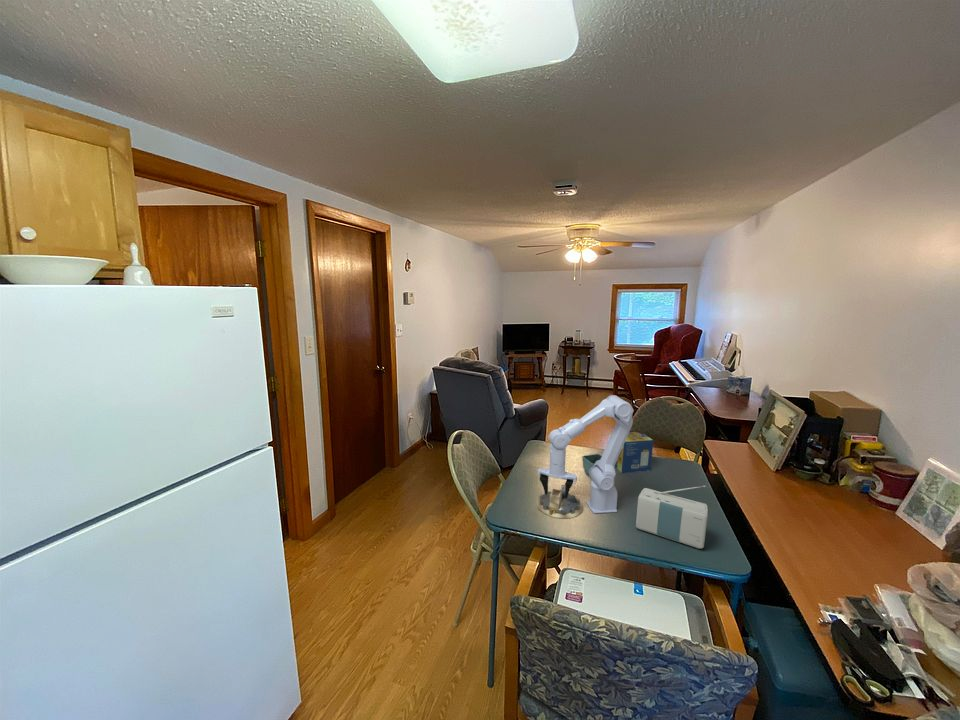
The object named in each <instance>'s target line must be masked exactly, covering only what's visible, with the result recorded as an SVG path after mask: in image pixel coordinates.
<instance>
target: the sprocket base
mask: <svg viewBox="0 0 960 720" xmlns="http://www.w3.org/2000/svg"><path fill="white" fill-rule="evenodd" d="M544 494H545V493H543V494H542V495H544ZM540 496H541V495H539V496H538V497H537V498H536V500H535V501H536V502H535V503H536V504H535V505H536V508H537V509H538V510H539V512H540V513H543V514H544V515H545V516H548V517H551V518H555V519H559V520H569V519H573V518H577V517H579V516H581V514H583V512H584V504H583V503H582V501H581V500H580V499H579V501H580V509H579V510H575V513H574V514H571V513H567V514H566V515H562V514H559V513H555V514H553V513H552V509H550V510H544V509H543V505H540ZM575 498H576V499H578V498H577V497H576V496H575Z"/></svg>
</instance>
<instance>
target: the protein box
mask: <svg viewBox="0 0 960 720" xmlns="http://www.w3.org/2000/svg"><path fill="white" fill-rule="evenodd" d="M653 447H654V439H652V438H651V437H649V436H648V435H646V434H645V433H643V432H641V431H634V432H633V431H632V432H630V431H629V434H628V436H627V438H626V441H625V443H624V445H623V447H622V450H621V452H620V454H619V457H618V459H617V461H616V464H615V466H614V468H615V470H617V471H618V472H619V473H620V474H625V473H627V472H629V473H637V472H636V471H641V472H648V471H647V470H650V471H651V470H652V457H653V449H654V448H653Z"/></svg>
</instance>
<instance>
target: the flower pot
mask: <svg viewBox="0 0 960 720" xmlns="http://www.w3.org/2000/svg"><path fill="white" fill-rule="evenodd" d="M581 457H582V458H581V459H582V466H583V468H582V469H583V470H584V472H585V474H586V476H588V477H589V479H591V480H592V478H591V477H590V476H589V471H590V469H591V467H593V466H594V464H595V462H596V461H598V460H600V459H601V457H602V455H601V454H600V453H593V454H585V455H582V456H581Z"/></svg>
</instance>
